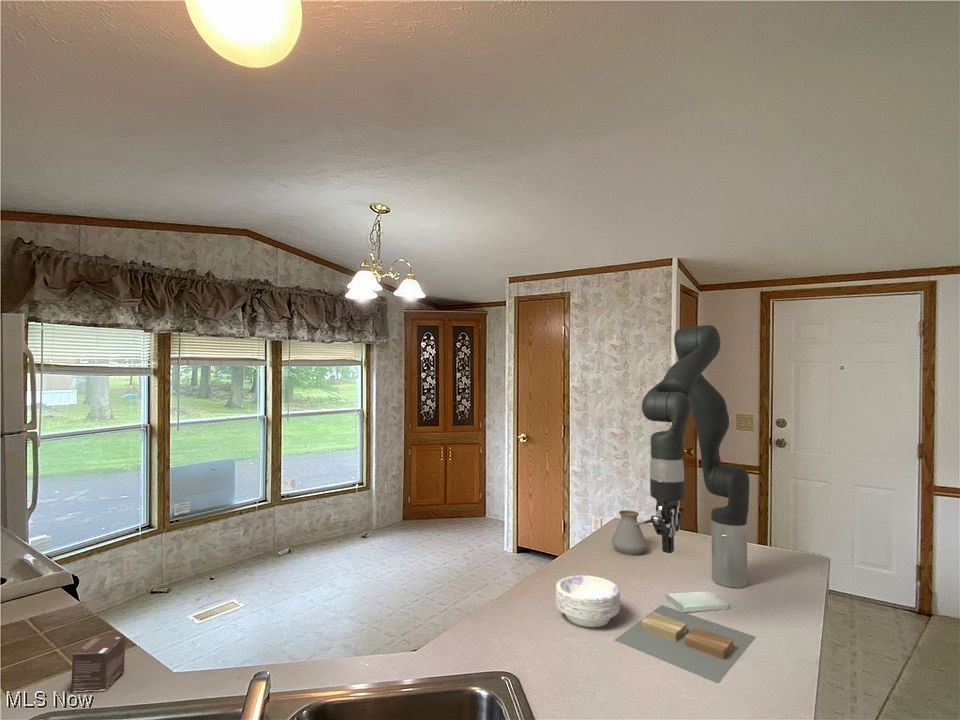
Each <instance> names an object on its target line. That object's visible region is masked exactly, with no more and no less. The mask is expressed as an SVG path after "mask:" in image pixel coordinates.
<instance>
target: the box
mask: <svg viewBox="0 0 960 720" xmlns="http://www.w3.org/2000/svg"><path fill="white" fill-rule="evenodd" d="M125 652H126V636H125V635H120V636H119V635H118V636H117V635H116V636H94V637H92V638H91V639H90V640H89V641H87V642H86V643H85V644H83V645H82V646H81V647H79V648H78V649H77V650H75V652H73V653H72V663H71V683H70V684H71V686H70V688H71V689H70V693H71V692H73V691H85V690H100V689H106V688H107V687H108V686H109V685H110V684H111V683H112V682H113V681H115V680H116V679H117V678H118V677H119V676H120V675H121V674H122V673H123V672H124V673H125V659H126V658H125ZM124 673H123V674H124ZM123 674H122V675H123ZM122 675H121V676H122ZM121 676H120V677H121ZM120 677H119V678H120ZM119 678H118V679H119ZM118 679H117V680H118ZM117 680H116V681H117ZM116 681H115V682H116Z"/></svg>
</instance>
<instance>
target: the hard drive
mask: <svg viewBox="0 0 960 720" xmlns="http://www.w3.org/2000/svg"><path fill="white" fill-rule="evenodd" d="M664 596H665V600H666V601H668V602H669V603H670V604H672V605H673V606H674V607H675V608H676V609H677V610H678V611H681V612H684V613H695V612H708V611H719V610H728V609H729V605H728V603H727V602H725V601H724V600H722V599H721V598H719V597H718V596H717V595H715V594H713V593H712V592H709V591H695V592H694V591H693V592H691V591H689V592H672V593H671V592H670V593H665V595H664Z"/></svg>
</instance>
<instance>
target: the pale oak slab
mask: <svg viewBox="0 0 960 720" xmlns="http://www.w3.org/2000/svg"><path fill="white" fill-rule="evenodd" d="M652 612H653V611H652ZM650 613H651V612H650ZM650 613H649V614H650ZM649 614H648V615H649ZM646 616H647V615H646ZM646 616H645V617H646ZM645 617H644V618H645ZM642 619H643V618H642ZM642 619H641V620H642ZM642 629H644V630H647V631H649V632H652V633H654V634H657V635H660V636H662V637H665V638H668V639H670V640H673V641H675V642H676V641H677V640H678V639H679V638H680V637H681V636H683V635H684V634H685V633H686V632H687V624H686V623H683V622H680V621H677V620H674V619H671V618H669V617H666V616H663V615H660V614H657V613H654V612H653V613H651V614H650V615H649V616H647V617H646V618H645V619H643V620H642Z"/></svg>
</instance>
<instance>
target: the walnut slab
mask: <svg viewBox="0 0 960 720" xmlns="http://www.w3.org/2000/svg"><path fill="white" fill-rule="evenodd" d="M685 645H686V646H688V647H691V648H694V649H696V650H699V651H701V652H704V653H707V654H709V655H712V656H715V657H717V658H720V659H722V660H724V659H725V658H726V656H727V655H728V654H729V653H730V652H731V651H732V650H733V640H731V639H728V638H726V637H723V636H720V635H717V634H714V633H711V632H708V631H706V630H703V629H700V628H697V627H695V628H694V629H693V630H692V631H690V632H689V633H688V634H687V635H686V636H685Z"/></svg>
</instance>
